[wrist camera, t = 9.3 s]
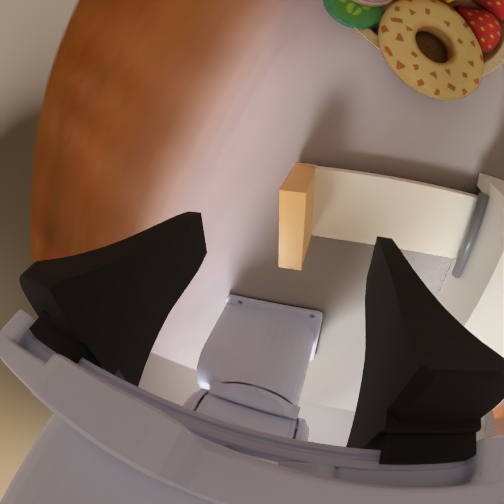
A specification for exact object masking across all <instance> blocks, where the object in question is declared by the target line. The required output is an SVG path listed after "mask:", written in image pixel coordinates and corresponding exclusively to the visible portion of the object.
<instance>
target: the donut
mask: <svg viewBox="0 0 504 504" xmlns="http://www.w3.org/2000/svg"><path fill="white" fill-rule="evenodd" d="M494 436H495V421H494V415H493V411H492V410H491V411H490V412H488V413H487V414H486V415H485V416H483V417H482V418H481V429H480V431H478V432H476V441H478V440H480V439H483V438H487V437H494Z"/></svg>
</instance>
